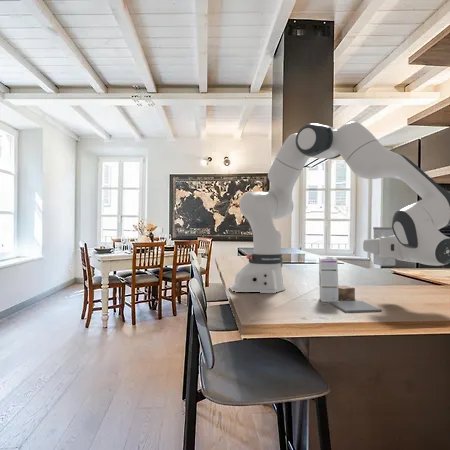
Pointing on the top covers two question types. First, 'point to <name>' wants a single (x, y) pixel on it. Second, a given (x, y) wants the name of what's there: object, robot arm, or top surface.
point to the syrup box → (328, 279)
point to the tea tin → (377, 234)
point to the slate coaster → (355, 306)
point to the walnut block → (346, 292)
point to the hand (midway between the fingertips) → (381, 244)
